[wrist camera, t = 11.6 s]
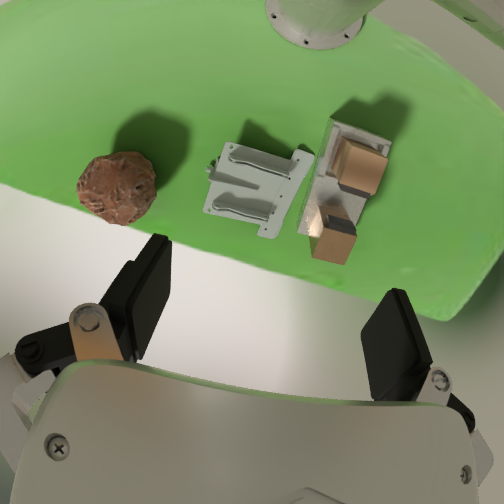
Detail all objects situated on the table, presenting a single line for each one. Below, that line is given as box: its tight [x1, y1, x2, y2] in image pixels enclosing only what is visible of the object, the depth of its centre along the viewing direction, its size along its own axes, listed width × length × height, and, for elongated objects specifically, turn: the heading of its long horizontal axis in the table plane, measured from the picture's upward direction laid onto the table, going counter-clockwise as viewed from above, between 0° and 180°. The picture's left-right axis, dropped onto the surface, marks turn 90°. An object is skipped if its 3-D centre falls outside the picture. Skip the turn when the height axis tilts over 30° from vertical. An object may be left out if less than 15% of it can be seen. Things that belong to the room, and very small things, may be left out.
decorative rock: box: [77, 151, 157, 226], centre depth 37 cm, size 13×11×10 cm
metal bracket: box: [203, 141, 315, 239], centre depth 40 cm, size 14×6×15 cm
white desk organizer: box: [297, 117, 392, 265], centre depth 35 cm, size 17×8×9 cm, turn 168°
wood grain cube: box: [331, 136, 389, 199], centre depth 31 cm, size 5×5×6 cm
